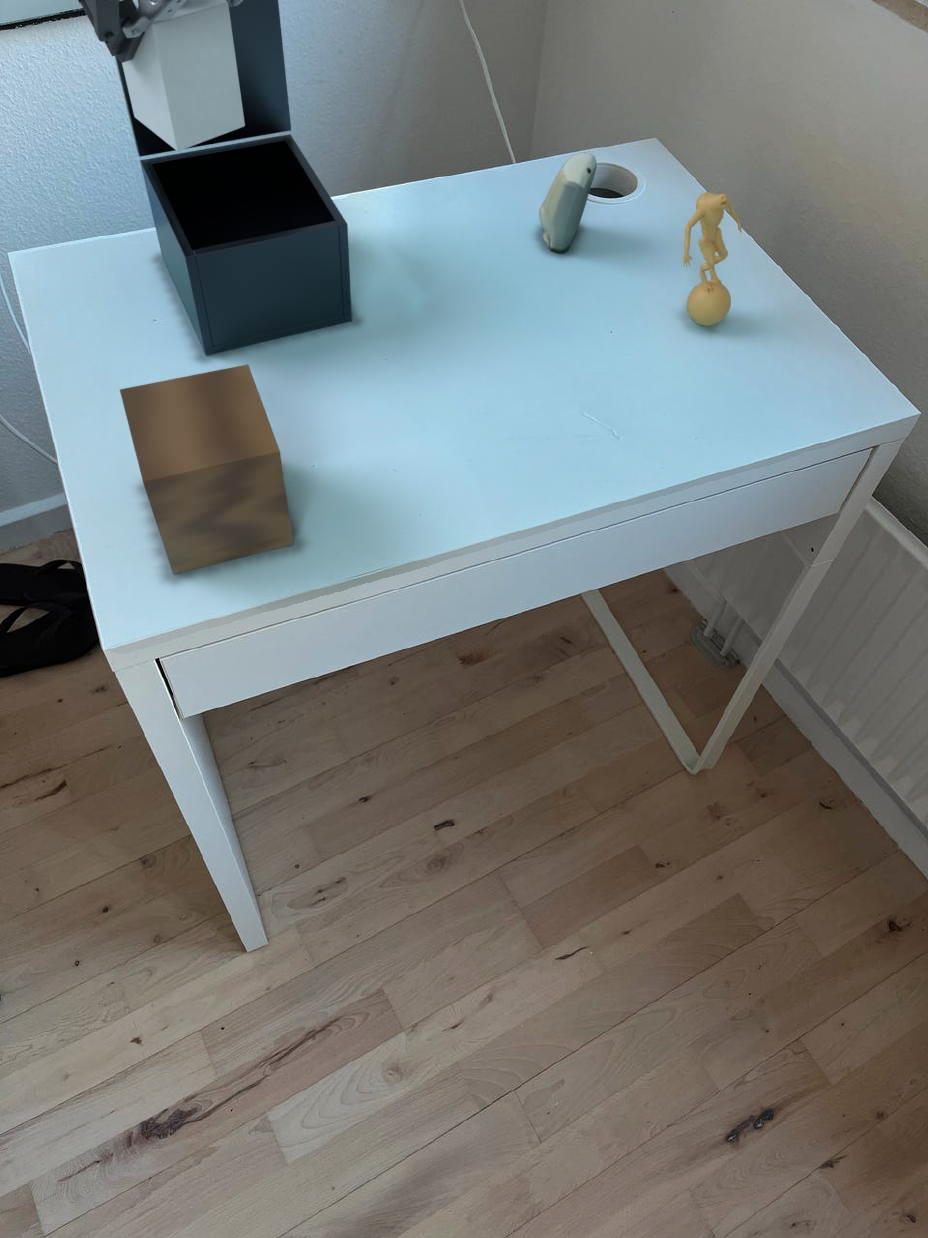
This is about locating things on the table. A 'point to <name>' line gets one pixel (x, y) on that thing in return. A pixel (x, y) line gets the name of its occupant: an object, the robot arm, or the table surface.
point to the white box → (187, 75)
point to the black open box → (250, 241)
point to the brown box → (209, 467)
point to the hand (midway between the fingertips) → (157, 31)
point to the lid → (241, 79)
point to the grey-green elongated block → (567, 201)
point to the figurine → (709, 260)
